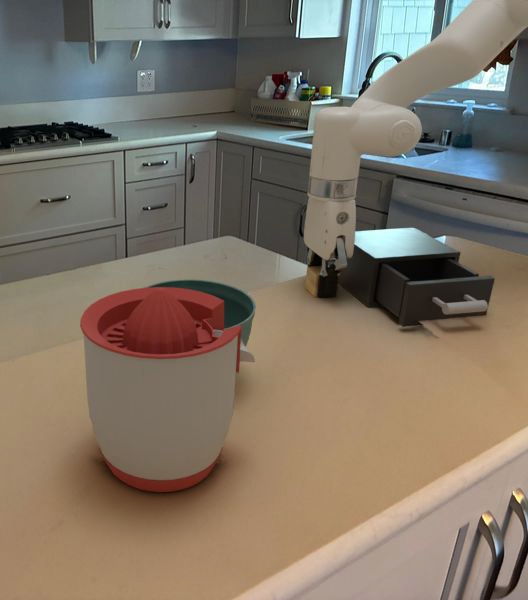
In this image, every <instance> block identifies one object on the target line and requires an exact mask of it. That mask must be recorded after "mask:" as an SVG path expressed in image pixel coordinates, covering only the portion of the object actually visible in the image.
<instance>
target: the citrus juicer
mask: <svg viewBox="0 0 528 600" xmlns="http://www.w3.org/2000/svg"><path fill="white" fill-rule="evenodd" d="M79 327H80V329H81V332H82V334H83V344H84V346H83V347H84V363H85V377H86V378H85V380H86V399H87V405H88V406H87V407H88V415H89V418H90V423H91V426H92V429H93V434H94V436H95V439H96V442H97V444H98V448H99V451H100V454H101V456H102V458H103V460H104V461H105V463H106V464H107V467H108V468H109V469H110V471H111V472H112V474H113V475H114V476H115V477H116V478H117V479H118V480H119V481H121V482H123V483H125V484H126V485H128V486H131V487H133V488H135V489H138V490H142V491H146V492H154V493H168V492H169V493H171V492H177V491H181V490H182V491H183V490H185V489H188V488H191V487H193V486H196V485H197V484H199V483H200V482H202V481H203V480H204V479H205V478H206V477H207V476H209V474H210V473H211V472H212V470H213V468H214V467H215V465H216V463H217V462H218V460H219V458H220V457H221V454H222V451H223V448H224V444H225V443H226V440H227V436H228V434H229V430H230V425H231V423H232V419H233V413H234V407H235V406H234V405H235V396H236V395H235V393H236V377H237V376H236V375H237V374H239V373H240V364H241V363H243V362H244V363H256V360H255V357H254V355H253V354H252V352H250V351H249V349H248V348H247V346H246V347H245V345H244V343H243V341H242V339H241V325H238V326H235V327H231V328H227V329H224V301H223V300H221V299H219V298H217V297H215V296H213V295H210V294H207V293H203V292H200V291H195V290H190V289H183V288H172V287H148V288H144V287H141V288H132V289H127V290H122V291H118V292H115V293H111V294H108V295H106V296H104V297H102V298H99V299H98V300H96V301H95V302H93V303H91V304H90V305H89V306H88V307H87V308H86V309H85V310H84V311H83V313H82V315H81V317H80V323H79ZM240 362H241V363H240Z"/></svg>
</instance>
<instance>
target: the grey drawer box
mask: <svg viewBox="0 0 528 600" xmlns="http://www.w3.org/2000/svg"><path fill="white" fill-rule="evenodd" d="M461 254H462V253H461V251H459V250H457V249H456V248H453V247H452V246H450V245H448V244H446V243H444V242H442V241H440V240H438V239H436V238H435V237H432V236H431V235H428V234H427V233H425V232H423V231H421V230H419V229H417V228H415V227H403V228H402V227H401V228H388V229H375V230H374V229H373V230H371V229H370V230H357V231H356V230H355V241H354V251H353V256H352V258H350V259H347V258H346V260H347V267H346V268H344V269H342V271H341V272H340V275H339V278H338V285H340V286H341V287H342V288H344V289H345V290H346V291H347V292H348V293H350V294H351V295H352V296H353V297H354V298H356V299H357V300H358V301H360V303H361V304H363V305H364V306H365V307H367V308H369V309H370V308H377V307H378V308H379V306H381V307H384V306H383V305H382V304H381V303H379V302H378V301H377V300H376V299H374V293H375V287H376V280H377V273H378V267H379V263H380V262H393V261H407V260H420V259H434V258H448V257H449V258H451V259H452V260H454V261H456V262H458V263H460V259H461V257H460V256H461ZM334 256H335V254H333V257H334ZM334 263H335V261H332V264H334Z"/></svg>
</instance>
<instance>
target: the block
mask: <svg viewBox="0 0 528 600" xmlns="http://www.w3.org/2000/svg"><path fill="white" fill-rule="evenodd" d="M329 266H330V264H328V267H329ZM305 274H306V275H305V283H304V284H305V285H304V289H305V290H306V291H307V292H308V293H310V295H311V296H312V297H314V298H319V297H318V296H317V291H318V282H319V275H322V266H314V267H308V266H307V267H306V273H305ZM338 278H339V276H338ZM338 285H339V283H338V284H337V287H339V286H338ZM337 293H338V291H337V292H336V295H337Z"/></svg>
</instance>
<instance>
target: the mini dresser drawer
mask: <svg viewBox="0 0 528 600" xmlns="http://www.w3.org/2000/svg"><path fill="white" fill-rule="evenodd" d="M495 279H496V278H495V277H493V276H491V275H482V276H480V274H479V273H478V272H476V271H474V270H473V269H471V268H469V267H467V266H465V265H463V264H461V263H460V262H459V263H458V262H456V261H454V260H452V259H451V258H449V257H448V258H434V259H420V260H407V261H393V262H380V263H379V267H378V273H377V280H376V287H375V293H374V299H376V300H377V301H378V302H379V303H381V304H382V305H383V306H382V307H385V309H387V310H388V311H389V312H390V313H392V315H394V316H396V317H397V318H398V319H399V320H398V324H399V325H400V326H401V327H402V328H405V327H416V326H417V327H418V326H419V327H420V326H424V324H422V322H424V321H425V322H426V321H435V320H445V319H446V320H447V319H457V318H470V317H482V316H487V314H488V310H489V306H490V301H491V297H492V292H493V289H494V284H495Z"/></svg>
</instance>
